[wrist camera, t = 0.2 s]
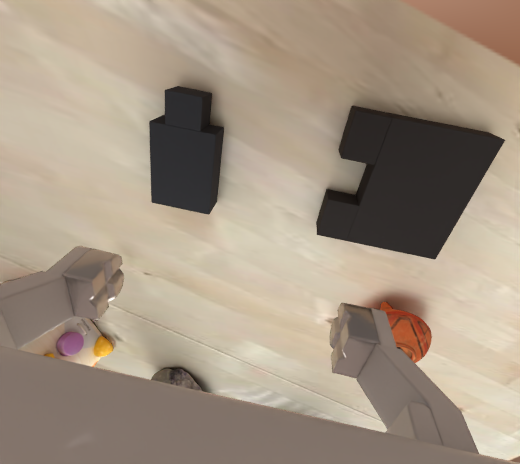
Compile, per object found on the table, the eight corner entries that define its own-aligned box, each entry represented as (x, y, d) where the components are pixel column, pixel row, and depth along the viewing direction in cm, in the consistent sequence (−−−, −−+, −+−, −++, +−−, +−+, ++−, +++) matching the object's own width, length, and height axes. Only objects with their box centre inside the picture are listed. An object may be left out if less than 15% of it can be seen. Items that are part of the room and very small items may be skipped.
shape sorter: (131, 360, 50) (55, 494, 35) (81, 366, 53) (-8, 492, 38) (55, 267, 41) (-88, 391, 26) (1, 281, 44) (-156, 399, 29)
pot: (386, 351, 41) (388, 393, 35) (346, 310, 41) (342, 345, 35) (442, 325, 37) (454, 368, 31) (399, 279, 37) (403, 313, 31)
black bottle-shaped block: (163, 190, 33) (151, 202, 31) (162, 83, 28) (148, 86, 25) (216, 202, 33) (209, 214, 31) (227, 95, 27) (219, 100, 25)
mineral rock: (216, 416, 56) (199, 482, 47) (159, 404, 56) (132, 468, 48) (218, 373, 49) (200, 441, 40) (154, 361, 50) (122, 425, 41)
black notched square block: (351, 105, 27) (355, 110, 24) (489, 132, 26) (505, 139, 24) (316, 222, 33) (316, 234, 31) (426, 245, 32) (435, 259, 30)
